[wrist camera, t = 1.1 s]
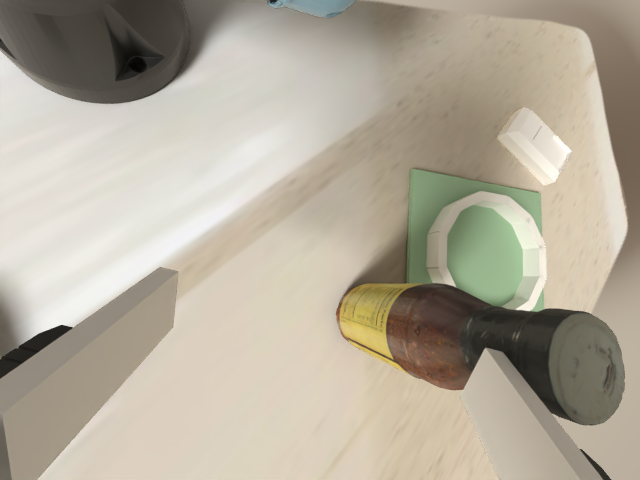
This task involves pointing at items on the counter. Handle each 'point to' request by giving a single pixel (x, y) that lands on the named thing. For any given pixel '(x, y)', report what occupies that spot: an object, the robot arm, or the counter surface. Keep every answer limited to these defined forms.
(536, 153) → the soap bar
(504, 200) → the putting mat
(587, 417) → the sauce bottle
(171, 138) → the counter surface
